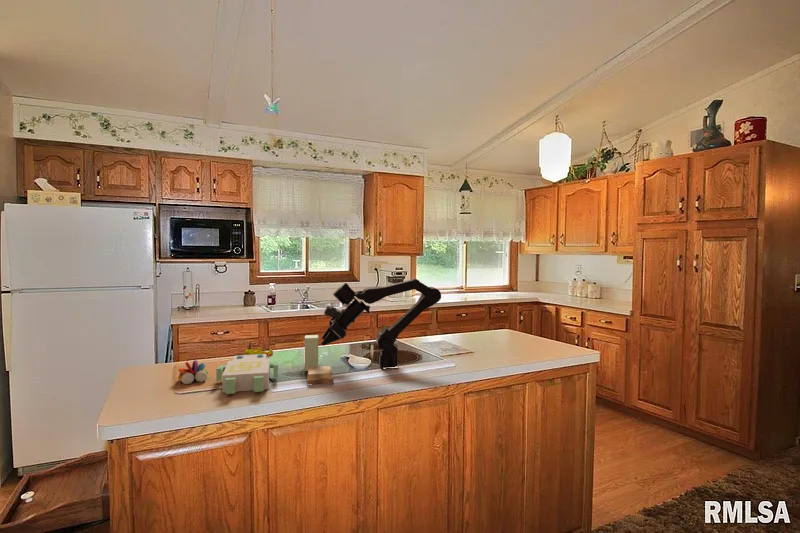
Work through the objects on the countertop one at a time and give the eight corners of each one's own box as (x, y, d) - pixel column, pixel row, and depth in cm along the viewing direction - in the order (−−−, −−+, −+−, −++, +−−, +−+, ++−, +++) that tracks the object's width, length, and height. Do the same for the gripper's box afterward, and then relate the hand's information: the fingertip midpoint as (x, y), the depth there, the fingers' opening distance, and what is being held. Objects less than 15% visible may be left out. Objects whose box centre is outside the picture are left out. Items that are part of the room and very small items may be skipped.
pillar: (318, 367, 170) (318, 334, 169) (318, 371, 165) (318, 337, 164) (305, 368, 169) (305, 335, 168) (304, 372, 164) (304, 338, 163)
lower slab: (332, 377, 160) (332, 371, 160) (333, 385, 151) (333, 379, 151) (307, 378, 158) (307, 373, 158) (307, 387, 149) (307, 381, 149)
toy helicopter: (274, 362, 176) (274, 338, 175) (240, 375, 159) (240, 348, 159) (262, 360, 178) (262, 336, 178) (228, 372, 162) (227, 346, 161)
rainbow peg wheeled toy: (176, 380, 153) (175, 360, 153) (205, 375, 159) (204, 356, 159) (180, 387, 147) (179, 365, 146) (210, 381, 152) (210, 361, 152)
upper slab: (330, 371, 159) (330, 366, 159) (331, 378, 152) (331, 372, 151) (308, 373, 158) (308, 367, 157) (308, 380, 150) (308, 374, 150)
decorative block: (222, 354, 160) (278, 351, 165) (222, 371, 161) (278, 367, 166) (210, 378, 135) (276, 374, 141) (210, 398, 136) (277, 393, 141)
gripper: (336, 295, 176) (308, 322, 175) (337, 302, 157) (305, 332, 156) (355, 314, 178) (328, 341, 176) (358, 323, 159) (327, 353, 158)
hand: (322, 341), depth 167 cm, fingers open, 9 cm apart
